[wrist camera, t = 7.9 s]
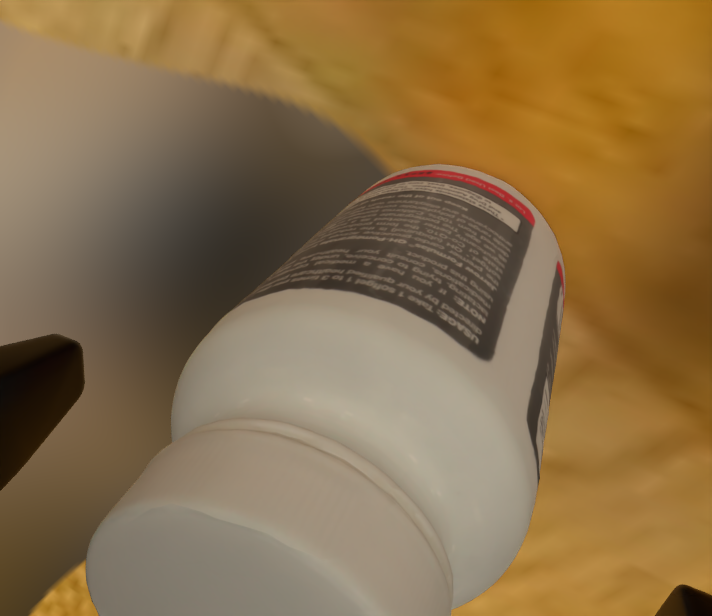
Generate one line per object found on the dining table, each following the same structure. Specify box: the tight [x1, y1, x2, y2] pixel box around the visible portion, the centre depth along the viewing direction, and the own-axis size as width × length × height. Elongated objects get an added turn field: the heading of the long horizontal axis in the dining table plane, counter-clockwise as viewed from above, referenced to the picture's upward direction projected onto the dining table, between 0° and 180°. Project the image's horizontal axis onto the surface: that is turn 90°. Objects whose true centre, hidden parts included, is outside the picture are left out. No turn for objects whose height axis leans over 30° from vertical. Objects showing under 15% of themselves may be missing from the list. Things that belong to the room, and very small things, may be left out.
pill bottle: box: [86, 164, 565, 616], centre depth 11 cm, size 5×5×10 cm
